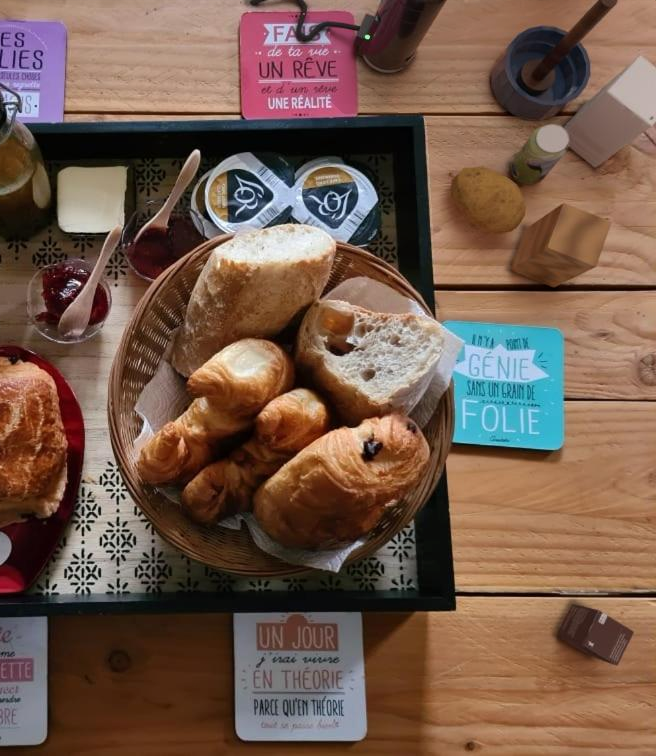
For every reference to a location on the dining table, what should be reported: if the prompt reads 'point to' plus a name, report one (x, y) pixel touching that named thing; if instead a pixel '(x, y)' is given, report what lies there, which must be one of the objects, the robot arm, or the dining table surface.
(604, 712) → the dining table surface
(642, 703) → the dining table surface
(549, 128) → the beverage can
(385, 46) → the robot arm
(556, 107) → the bowl
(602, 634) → the box
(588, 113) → the rectangular carton
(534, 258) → the wooden block
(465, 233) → the dining table surface
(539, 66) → the brown rod with disc
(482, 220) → the potato
